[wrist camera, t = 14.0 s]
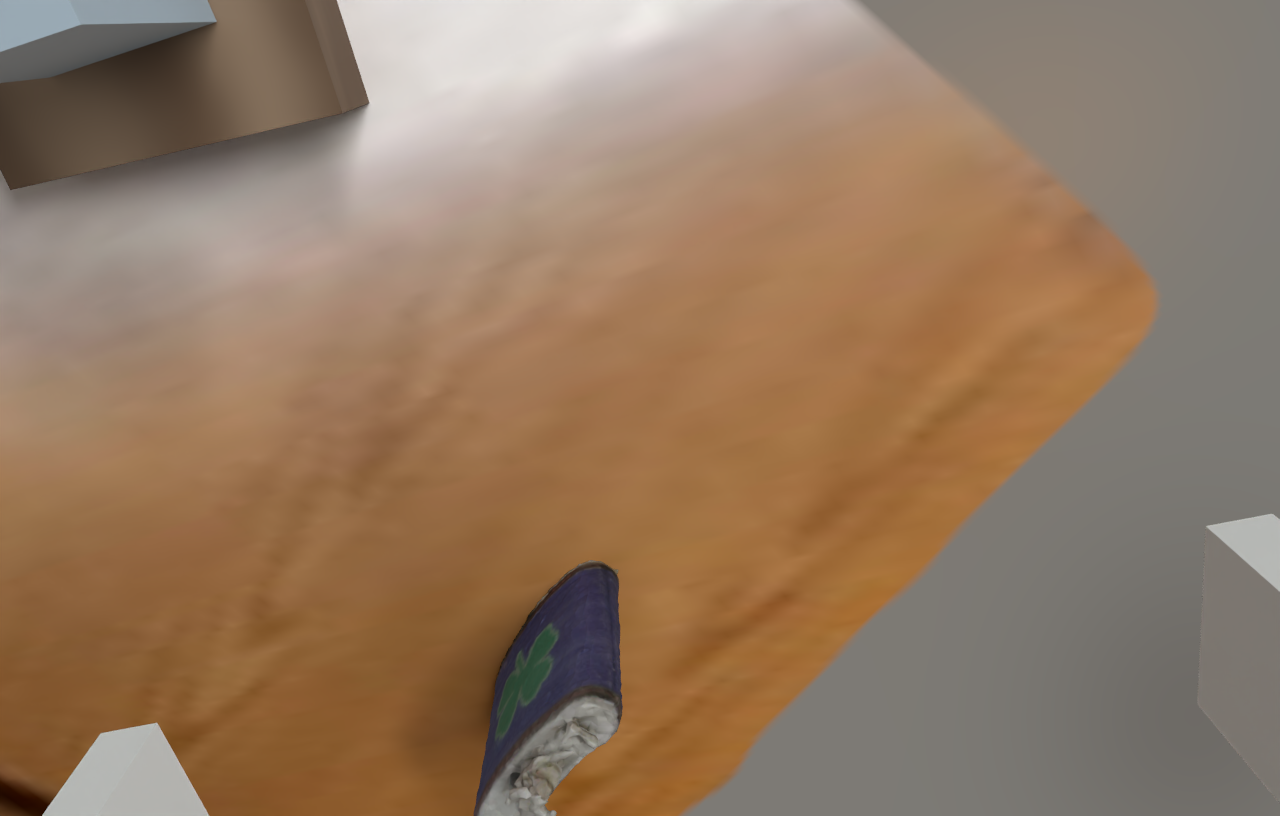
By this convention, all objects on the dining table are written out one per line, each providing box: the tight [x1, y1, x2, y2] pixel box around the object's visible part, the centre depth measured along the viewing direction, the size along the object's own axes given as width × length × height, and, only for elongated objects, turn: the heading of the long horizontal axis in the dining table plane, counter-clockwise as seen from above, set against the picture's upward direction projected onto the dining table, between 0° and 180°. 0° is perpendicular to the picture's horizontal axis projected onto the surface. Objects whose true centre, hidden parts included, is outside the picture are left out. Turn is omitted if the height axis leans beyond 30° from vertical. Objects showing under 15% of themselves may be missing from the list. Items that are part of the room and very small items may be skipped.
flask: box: [474, 560, 623, 816], centre depth 39 cm, size 9×3×11 cm, turn 146°
